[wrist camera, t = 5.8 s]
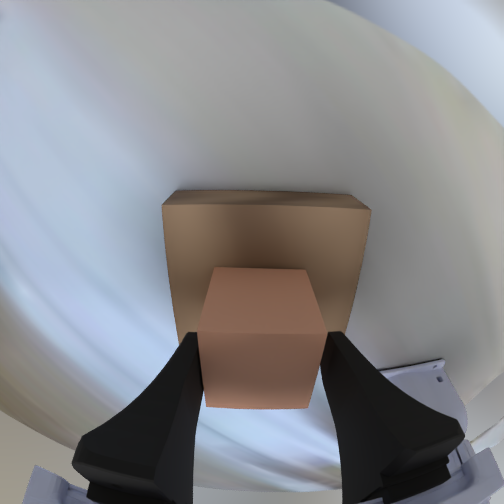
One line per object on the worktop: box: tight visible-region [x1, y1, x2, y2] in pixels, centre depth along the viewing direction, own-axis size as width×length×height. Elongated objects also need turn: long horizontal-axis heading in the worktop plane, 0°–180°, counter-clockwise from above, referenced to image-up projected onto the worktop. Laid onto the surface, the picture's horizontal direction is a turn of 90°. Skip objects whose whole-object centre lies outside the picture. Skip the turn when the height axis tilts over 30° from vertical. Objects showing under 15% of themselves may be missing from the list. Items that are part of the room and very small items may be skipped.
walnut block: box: [162, 190, 371, 345], centre depth 17 cm, size 10×10×4 cm
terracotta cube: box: [197, 267, 327, 409], centre depth 13 cm, size 4×4×5 cm
